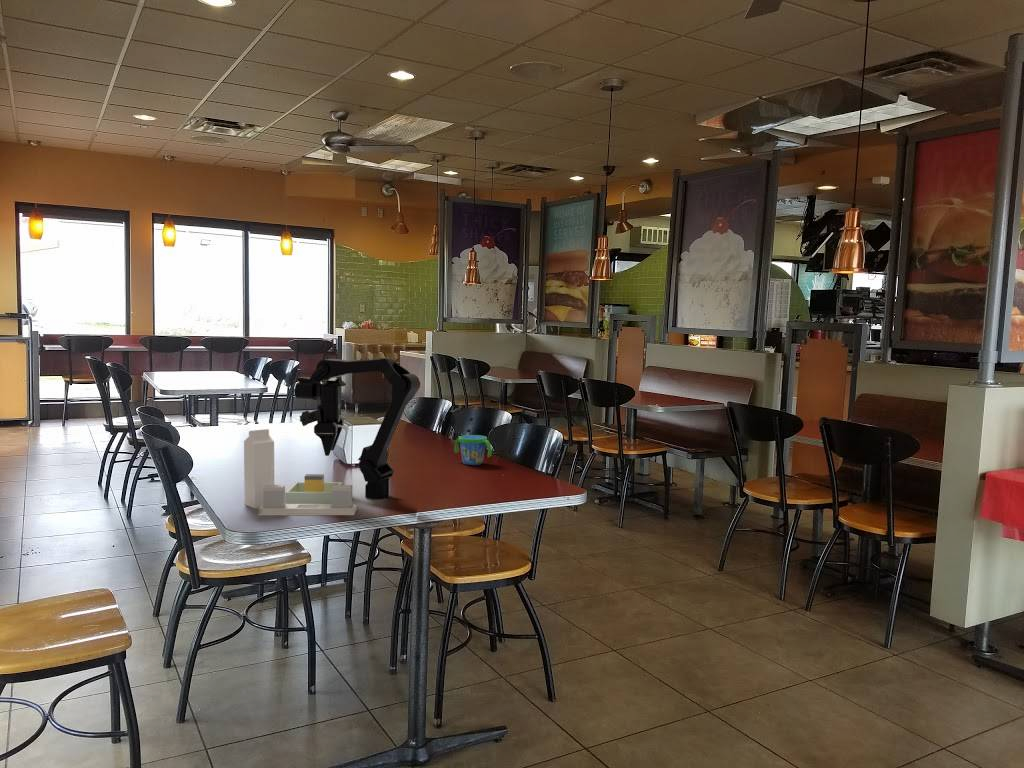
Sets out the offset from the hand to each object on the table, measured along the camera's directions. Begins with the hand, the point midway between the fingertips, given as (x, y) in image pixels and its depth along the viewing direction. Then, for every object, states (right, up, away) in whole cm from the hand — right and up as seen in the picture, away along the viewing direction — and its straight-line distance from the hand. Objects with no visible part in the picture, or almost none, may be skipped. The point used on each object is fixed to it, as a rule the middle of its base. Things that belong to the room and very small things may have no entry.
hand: (329, 453), depth 226 cm
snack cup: (+40, -9, +56) cm, 70 cm away
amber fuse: (-2, -13, -8) cm, 15 cm away
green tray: (-2, -14, -8) cm, 16 cm away
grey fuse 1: (-9, -14, -23) cm, 28 cm away
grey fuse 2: (+9, -14, -22) cm, 27 cm away
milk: (-16, -14, -15) cm, 26 cm away
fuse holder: (0, -15, -22) cm, 27 cm away
